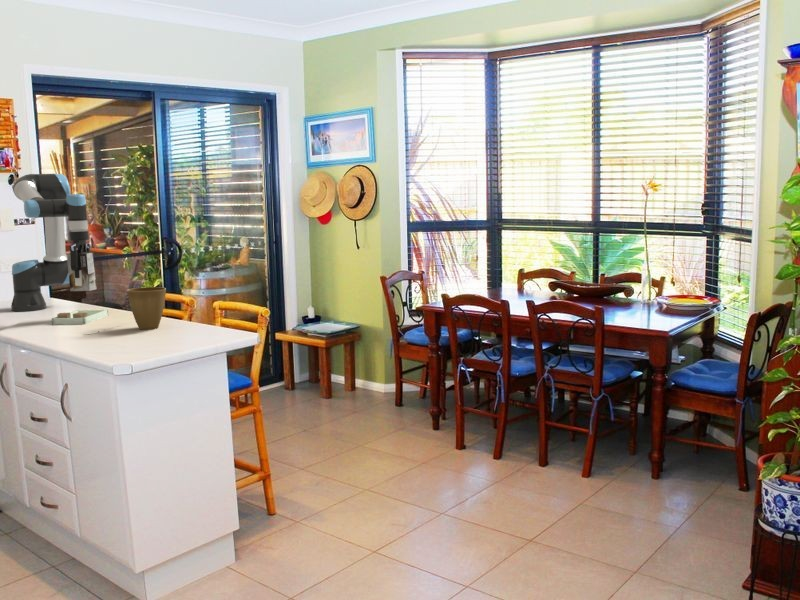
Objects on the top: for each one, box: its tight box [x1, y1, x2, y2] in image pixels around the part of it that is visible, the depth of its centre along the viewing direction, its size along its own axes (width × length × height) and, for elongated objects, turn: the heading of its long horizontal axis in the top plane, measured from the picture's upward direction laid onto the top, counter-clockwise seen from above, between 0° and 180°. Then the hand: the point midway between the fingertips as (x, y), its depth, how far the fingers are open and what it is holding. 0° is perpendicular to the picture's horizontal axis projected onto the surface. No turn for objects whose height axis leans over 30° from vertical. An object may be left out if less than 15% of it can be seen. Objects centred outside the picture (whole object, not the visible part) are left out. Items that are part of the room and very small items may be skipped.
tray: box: [51, 309, 109, 326], centre depth 323 cm, size 22×14×4 cm, turn 177°
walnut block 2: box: [73, 312, 88, 318], centre depth 316 cm, size 4×4×4 cm
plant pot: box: [126, 286, 167, 330], centre depth 305 cm, size 15×15×16 cm
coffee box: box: [66, 251, 97, 292], centre depth 325 cm, size 9×6×16 cm
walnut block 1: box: [56, 312, 71, 318], centre depth 316 cm, size 4×4×4 cm
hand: (82, 284), depth 325 cm, fingers closed on coffee box, 6 cm apart
